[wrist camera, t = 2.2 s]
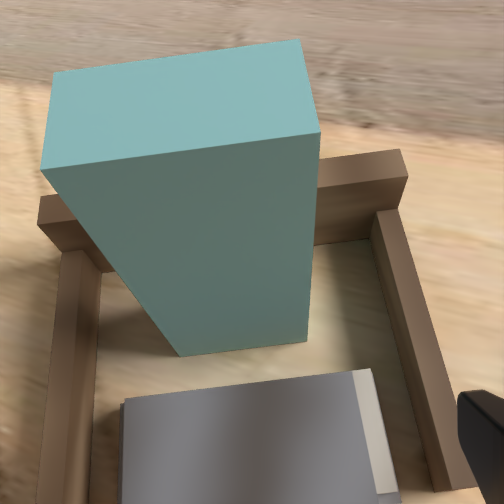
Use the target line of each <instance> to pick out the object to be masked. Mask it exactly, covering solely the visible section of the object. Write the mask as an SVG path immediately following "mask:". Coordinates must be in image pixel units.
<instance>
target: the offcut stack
mask: <svg viewBox="0 0 504 504" xmlns="http://www.w3.org/2000/svg"><path fill="white" fill-rule="evenodd" d="M117 504H402V501H401V496H400V492H399V488H398V483H397V479H396V474H395V470H394V465H393V461H392V456H391V452H390V448H389V443H388V439H387V434H386V430H385V425H384V421H383V417H382V412H381V408H380V403H379V399H378V394H377V390H376V385H375V381H374V377H373V373H371V368H369V369H361V370H353V371H345V372H337V373H329V374H321V375H312V376H304V377H296V378H288V379H280V380H272V381H264V382H255V383H247V384H239V385H231V386H223V387H215V388H207V389H198V390H190V391H182V392H174V393H166V394H158V395H150V396H141V397H133V398H126V399H125V402H124V403H121V404H120V434H119V466H118V498H117Z"/></svg>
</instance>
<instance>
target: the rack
mask: <svg viewBox="0 0 504 504" xmlns="http://www.w3.org/2000/svg"><path fill="white" fill-rule="evenodd" d="M407 179H408V173H407V170H406V167H405V163H404V160H403V157H402V154H401V151H400V149H393V150H385V151H378V152H370V153H363V154H355V155H348V156H340V157H333V158H325V159H319V167H318V182H317V197H316V213H315V228H314V243H313V245H321V244H328V243H336V242H344V241H352V240H359V239H367V238H369V240H370V244H371V247H372V251H373V255H374V259H375V263H376V267H377V271H378V275H379V279H380V282H381V286H382V290H383V294H384V298H385V302H386V306H387V310H388V314H389V317H390V321H391V325H392V329H393V333H394V337H395V341H396V345H397V349H398V352H399V356H400V360H401V364H402V368H403V372H404V376H405V380H406V384H407V388H408V391H409V395H410V399H411V403H412V407H413V411H414V415H415V419H416V423H417V426H418V430H419V434H420V438H421V442H422V446H423V450H424V454H425V458H426V461H427V465H428V469H429V473H430V477H431V481H432V485H433V489H434V492H441V491H450V490H458V489H466V488H473V487H479V486H478V484H477V482H476V480H475V477H474V475H473V473H472V471H471V469H470V466H469V464H468V462H467V460H466V457H465V455H464V453H463V451H462V448H461V446H460V443H459V439H458V433H457V404H456V401H455V398H454V394H453V391H452V388H451V385H450V381H449V378H448V375H447V371H446V368H445V365H444V361H443V358H442V355H441V351H440V348H439V345H438V341H437V338H436V335H435V331H434V328H433V325H432V321H431V318H430V315H429V311H428V308H427V305H426V301H425V298H424V295H423V292H422V288H421V285H420V282H419V278H418V275H417V272H416V268H415V265H414V262H413V258H412V255H411V252H410V248H409V245H408V242H407V238H406V235H405V232H404V228H403V225H402V222H401V218H400V215H399V212H398V206H399V203H400V200H401V197H402V194H403V191H404V188H405V185H406V182H407ZM37 225H38V226H39V228H40V229H41V230H42V231H43V232H44V233H45V234H46V235H47V236H48V238H49V239H50V240H51V241H52V242H53V243H54V244H55V245H56V246H57V248H58V249H59V250H60V251H61V252H62V256H61V265H60V275H59V284H58V294H57V303H56V313H55V322H54V332H53V341H52V351H51V361H50V370H49V380H48V389H47V399H46V408H45V418H44V427H43V437H42V446H41V456H40V465H39V475H38V484H37V494H36V504H88V495H89V478H90V460H91V443H92V426H93V408H94V391H95V374H96V356H97V339H98V322H99V304H100V287H101V273H103V272H111V271H115V269H114V268H113V267H112V265H111V264H110V263H109V261H108V260H107V259H106V257H105V256H104V255H103V253H102V252H101V251H100V249H99V248H98V247H97V245H96V244H95V243H94V241H93V240H92V239H91V237H90V236H89V235H88V233H87V232H86V231H85V229H84V228H83V227H82V225H81V224H80V223H79V221H78V220H77V219H76V217H75V216H74V215H73V213H72V212H71V211H70V209H69V208H68V207H67V205H66V204H65V203H64V201H63V200H62V199H61V197H60V196H59V195H58V194H54V195H47V196H41V198H40V206H39V213H38V220H37Z"/></svg>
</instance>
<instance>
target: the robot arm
mask: <svg viewBox="0 0 504 504" xmlns="http://www.w3.org/2000/svg"><path fill="white" fill-rule="evenodd" d="M457 433H458V439H459V443H460V446H461V448H462V451H463V453H464V455H465V457H466V460H467V462H468V464H469V466H470V469H471V471H472V473H473V475H474V477H475V480H476V482H477V484H478V486H479V489H480V491H481V493H482V495H483V498H484V500H485V502H486V504H504V399H503V398H500V397H498V396H496V395H494V394H492V393H490V392H488V391H485V390H472V391H464V392H461V393H460V394H459V395H458V398H457Z"/></svg>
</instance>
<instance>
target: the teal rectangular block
mask: <svg viewBox="0 0 504 504" xmlns="http://www.w3.org/2000/svg"><path fill="white" fill-rule="evenodd" d="M320 136H321V131H320V127H319V122H318V118H317V114H316V109H315V105H314V100H313V96H312V92H311V87H310V83H309V79H308V74H307V70H306V65H305V61H304V57H303V52H302V48H301V43H300V39H294V40H286V41H279V42H272V43H265V44H257V45H250V46H243V47H236V48H229V49H221V50H214V51H207V52H200V53H192V54H185V55H178V56H171V57H163V58H156V59H149V60H142V61H134V62H127V63H120V64H113V65H106V66H98V67H91V68H84V69H77V70H69V71H62V72H55V73H54V76H53V83H52V90H51V97H50V104H49V111H48V117H47V124H46V131H45V138H44V145H43V152H42V159H41V166H40V170H41V172H42V173H43V174H44V176H45V177H46V178H47V180H48V181H49V182H50V184H51V185H52V186H53V188H54V189H55V191H56V192H57V193H58V195H59V196H60V197H61V199H62V200H63V201H64V203H65V204H66V205H67V207H68V208H69V209H70V211H71V212H72V213H73V215H74V216H75V217H76V219H77V220H78V221H79V223H80V224H81V225H82V227H83V228H84V229H85V231H86V232H87V233H88V235H89V236H90V237H91V239H92V240H93V241H94V243H95V244H96V245H97V247H98V248H99V249H100V251H101V252H102V253H103V255H104V256H105V257H106V259H107V260H108V261H109V263H110V264H111V265H112V267H113V268H114V269H115V271H116V272H117V273H118V275H119V276H120V277H121V279H122V280H123V282H124V283H125V284H126V286H127V287H128V288H129V290H130V291H131V292H132V294H133V295H134V296H135V298H136V299H137V300H138V302H139V303H140V304H141V306H142V307H143V308H144V310H145V311H146V312H147V314H148V315H149V316H150V318H151V319H152V320H153V322H154V323H155V324H156V326H157V327H158V328H159V330H160V331H161V332H162V334H163V335H164V336H165V338H166V339H167V340H168V342H169V343H170V344H171V346H172V347H173V348H174V350H175V351H176V352H177V354H178V355H179V356H180V357H185V356H193V355H201V354H209V353H217V352H225V351H233V350H241V349H249V348H257V347H265V346H273V345H281V344H289V343H297V342H305V341H307V335H308V320H309V305H310V289H311V274H312V259H313V243H314V228H315V213H316V197H317V182H318V167H319V151H320Z"/></svg>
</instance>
